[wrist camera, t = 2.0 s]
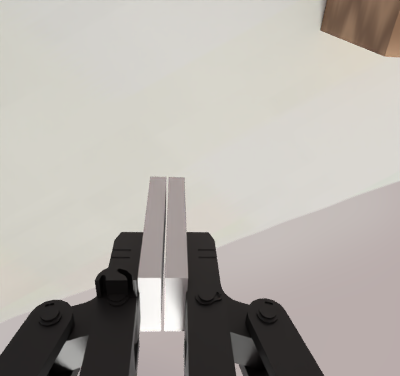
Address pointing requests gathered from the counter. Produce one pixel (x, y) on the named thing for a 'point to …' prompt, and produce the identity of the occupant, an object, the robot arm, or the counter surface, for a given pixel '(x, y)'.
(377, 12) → the tee block
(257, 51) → the counter surface
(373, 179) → the counter surface
